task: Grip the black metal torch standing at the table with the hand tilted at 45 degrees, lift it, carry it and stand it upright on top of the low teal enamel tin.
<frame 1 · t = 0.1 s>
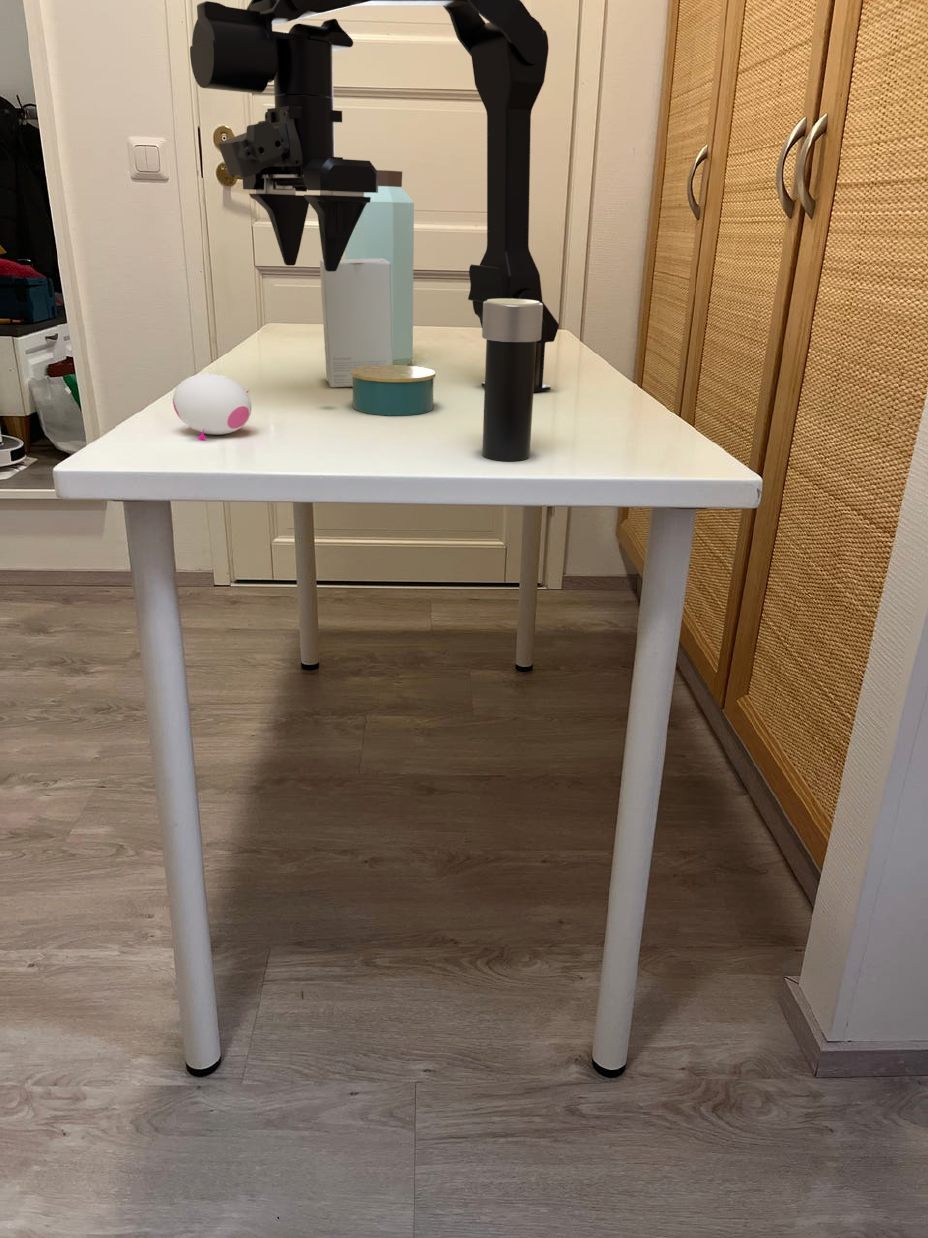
hand: (309, 268, 99), 15 cm above the table, tool pointing down, fingers open, 9 cm apart
water bottle: (380, 365, 136), on the table
cosmetic box: (358, 385, 120), on the table
torch: (505, 455, 88), on the table
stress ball: (217, 434, 93), on the table
tin: (393, 407, 107), on the table
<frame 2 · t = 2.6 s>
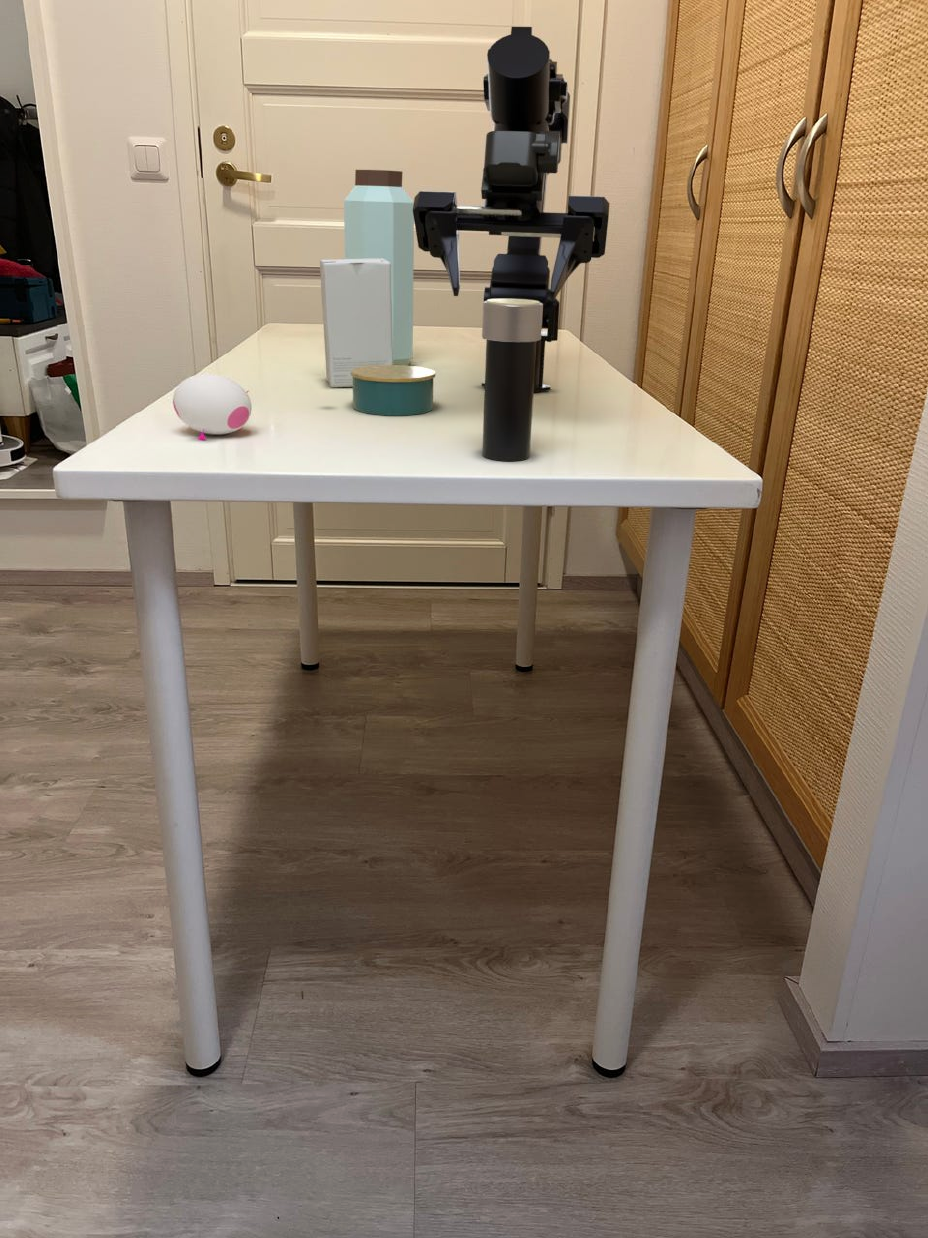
hand: (503, 295, 90), 13 cm above the table, tool tilted 45°, fingers open, 9 cm apart
nothing on the table moved.
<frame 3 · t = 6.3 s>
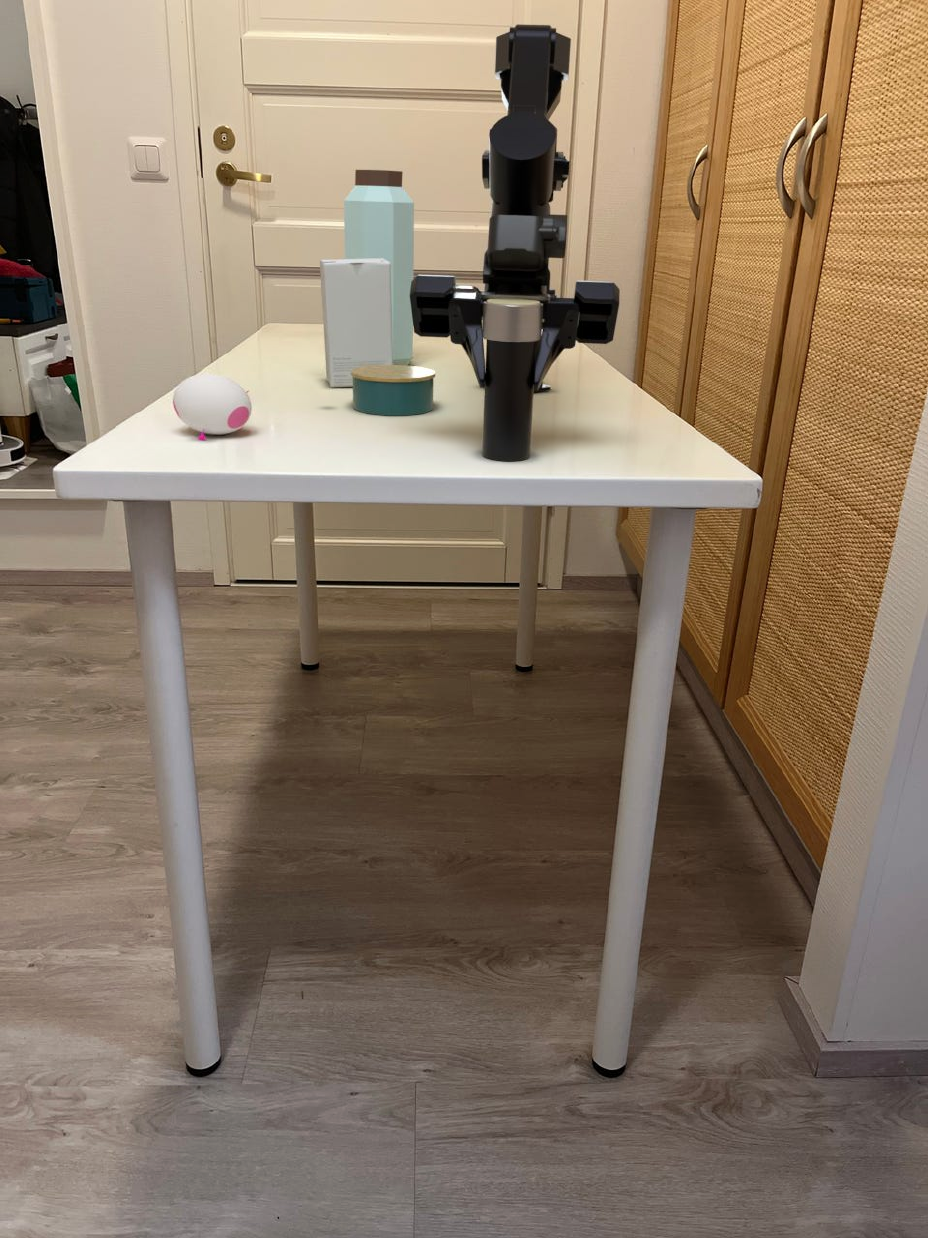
hand: (508, 386, 84), 7 cm above the table, tool tilted 45°, fingers closed on torch, 4 cm apart
torch: (505, 455, 88), on the table, touching gripper
everything else where it was.
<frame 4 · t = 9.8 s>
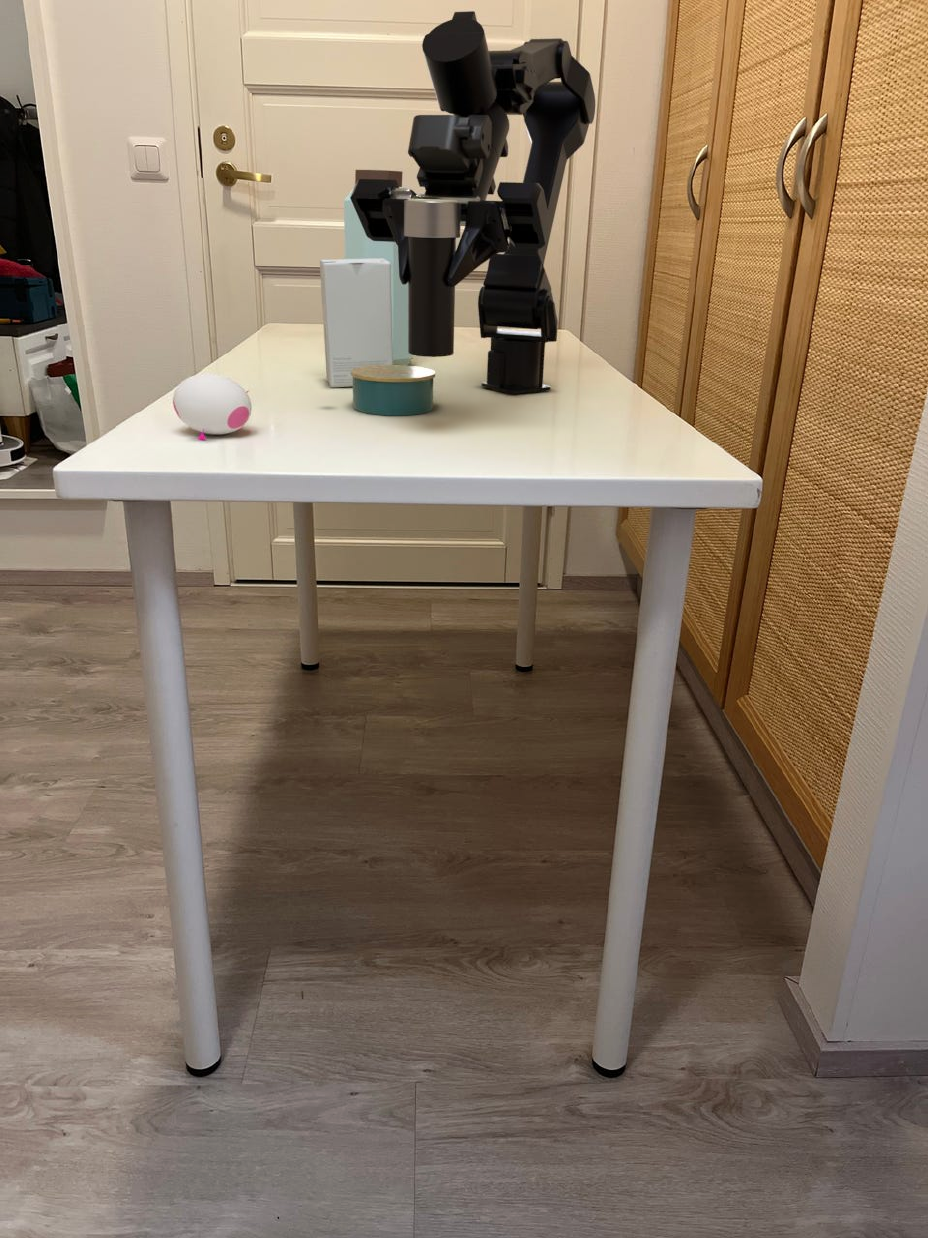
hand: (425, 282, 88), 14 cm above the table, tool tilted 45°, fingers closed on torch, 4 cm apart
torch: (430, 353, 92), point 8 cm above the table, touching gripper
everything else where it was.
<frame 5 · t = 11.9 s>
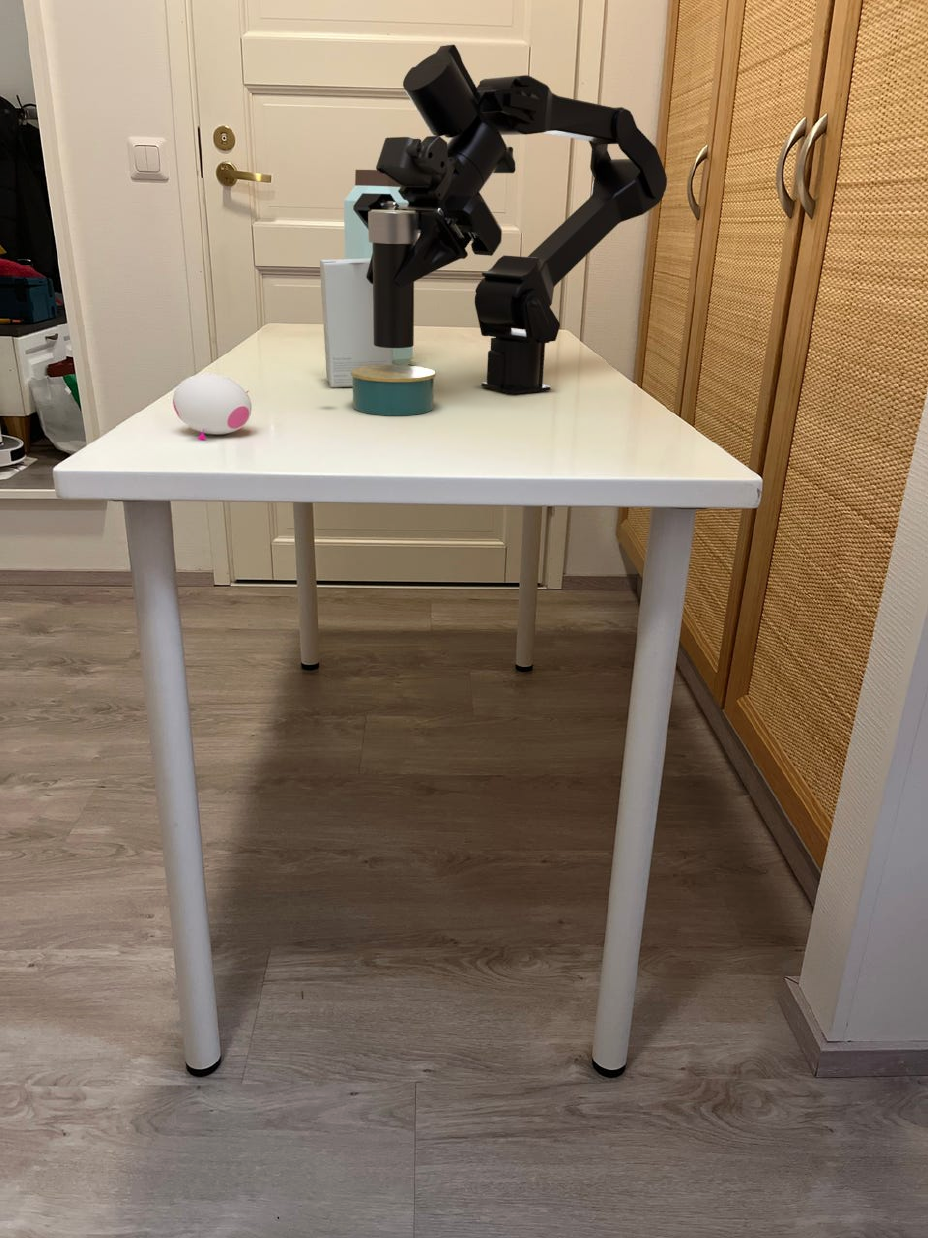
hand: (383, 282, 101), 13 cm above the table, tool tilted 45°, fingers closed on torch, 4 cm apart
torch: (393, 345, 104), point 7 cm above the table, touching gripper
everything else where it was.
when the fingers open (11 cm above the table, at t = 13.4 s): torch stays where it is, resting on tin.
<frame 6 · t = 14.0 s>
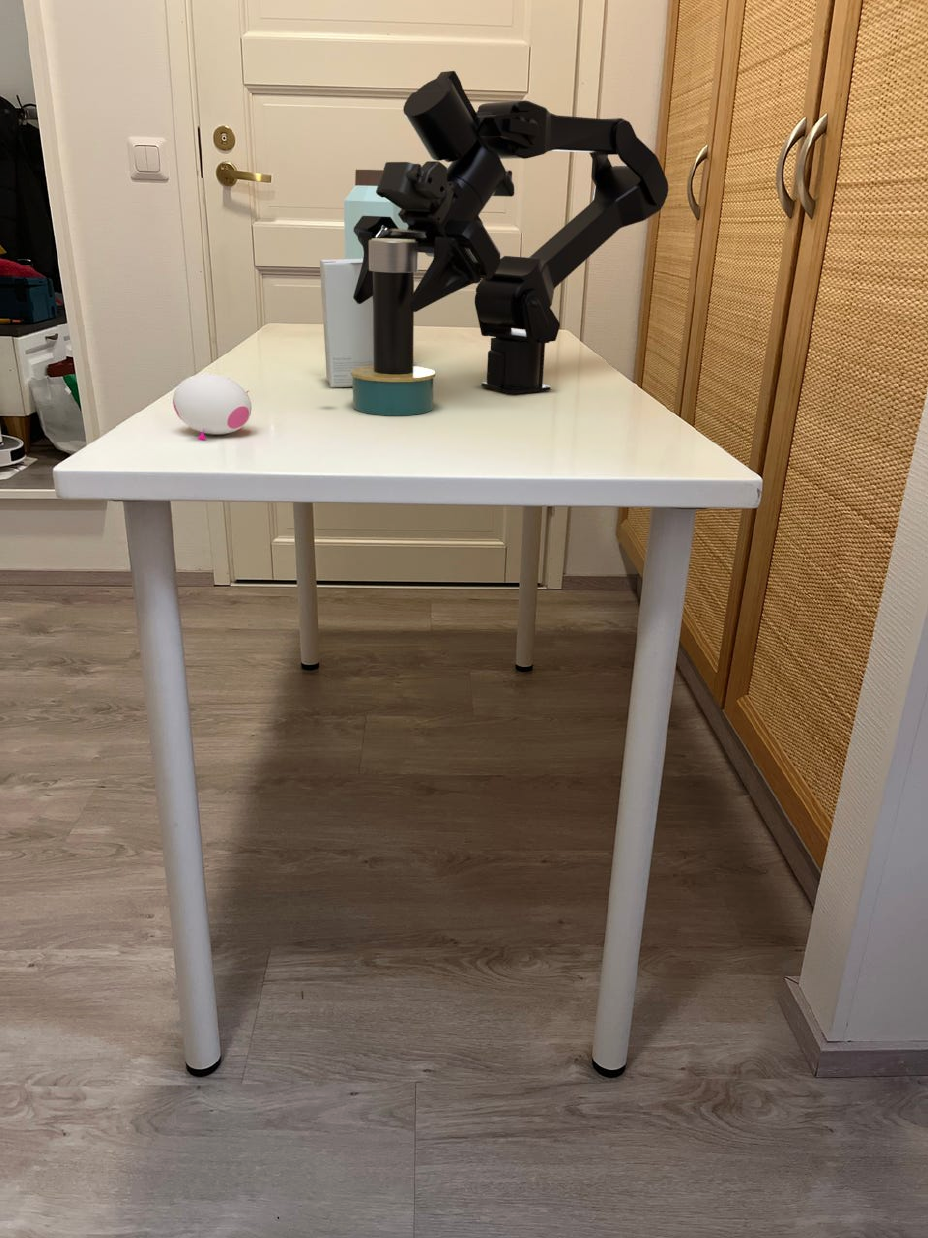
hand: (382, 304, 102), 11 cm above the table, tool tilted 45°, fingers open, 9 cm apart
torch: (393, 371, 106), point 4 cm above the table, touching tin
everything else where it was.
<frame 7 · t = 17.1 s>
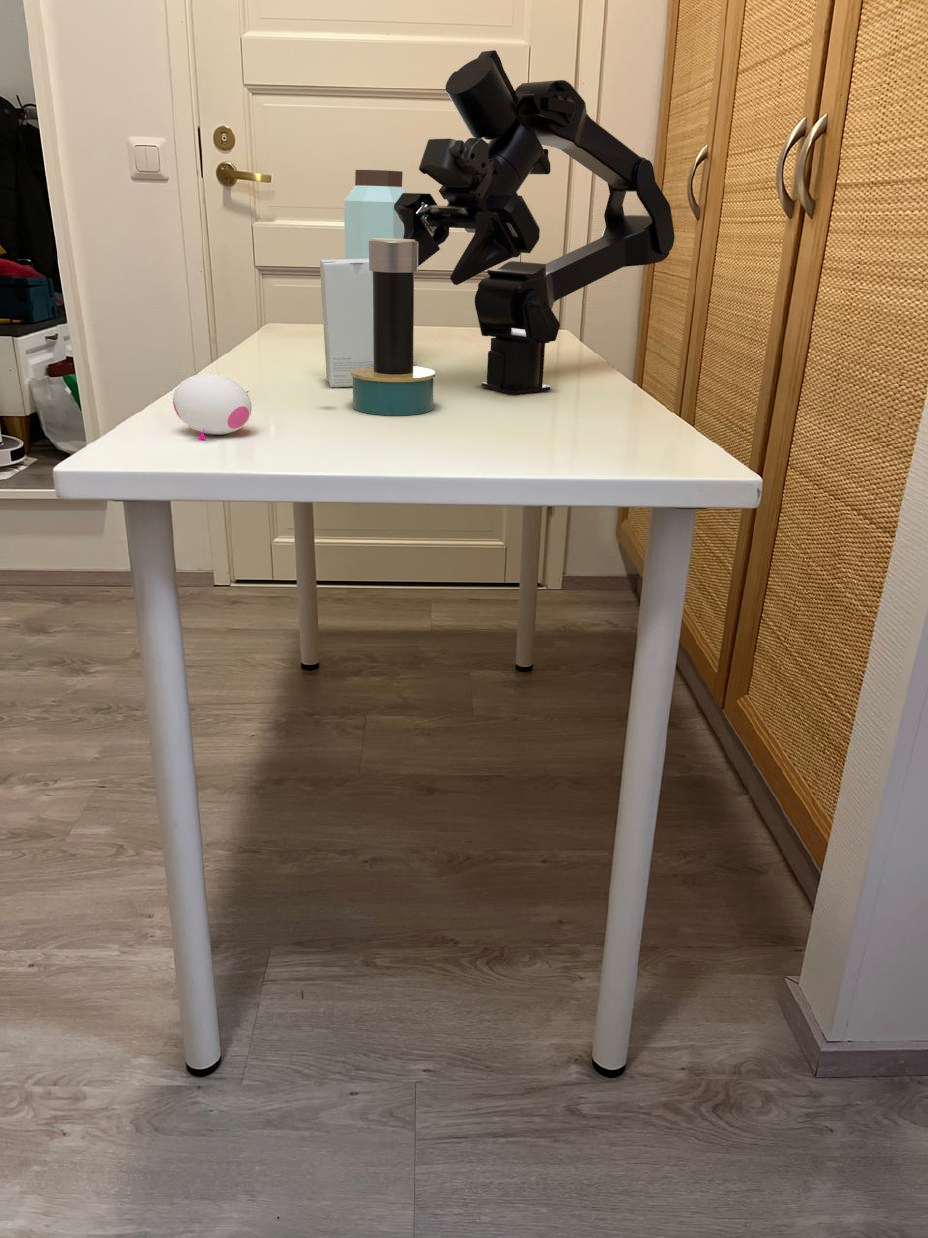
hand: (424, 278, 105), 14 cm above the table, tool tilted 45°, fingers open, 9 cm apart
nothing on the table moved.
at the end: torch 0.0 cm off-centre on the tin, point 4.0 cm above the tin's base; torch tilted 0°; the gripper is holding nothing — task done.
